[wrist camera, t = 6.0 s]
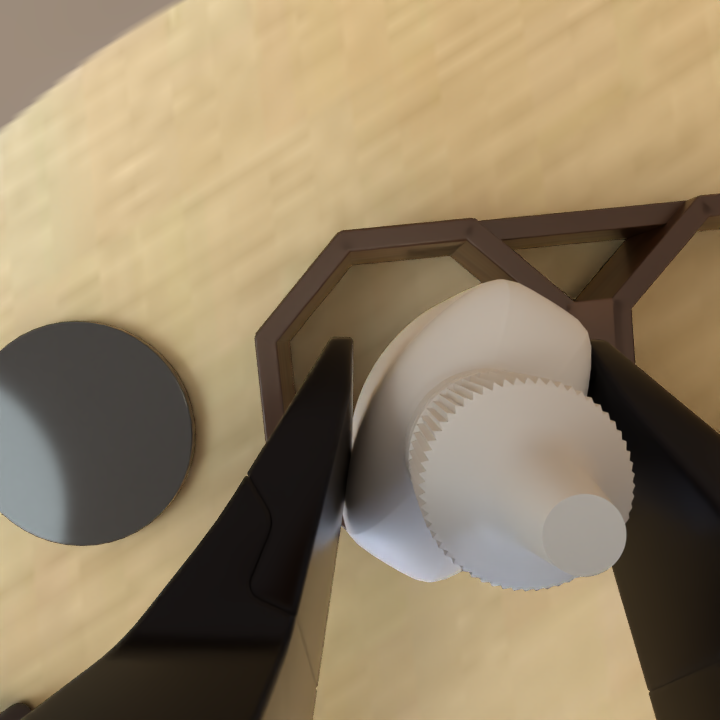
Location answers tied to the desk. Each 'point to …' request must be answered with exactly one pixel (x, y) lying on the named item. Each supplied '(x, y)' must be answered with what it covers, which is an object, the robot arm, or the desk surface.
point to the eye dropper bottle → (488, 447)
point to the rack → (495, 271)
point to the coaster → (90, 433)
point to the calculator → (15, 712)
